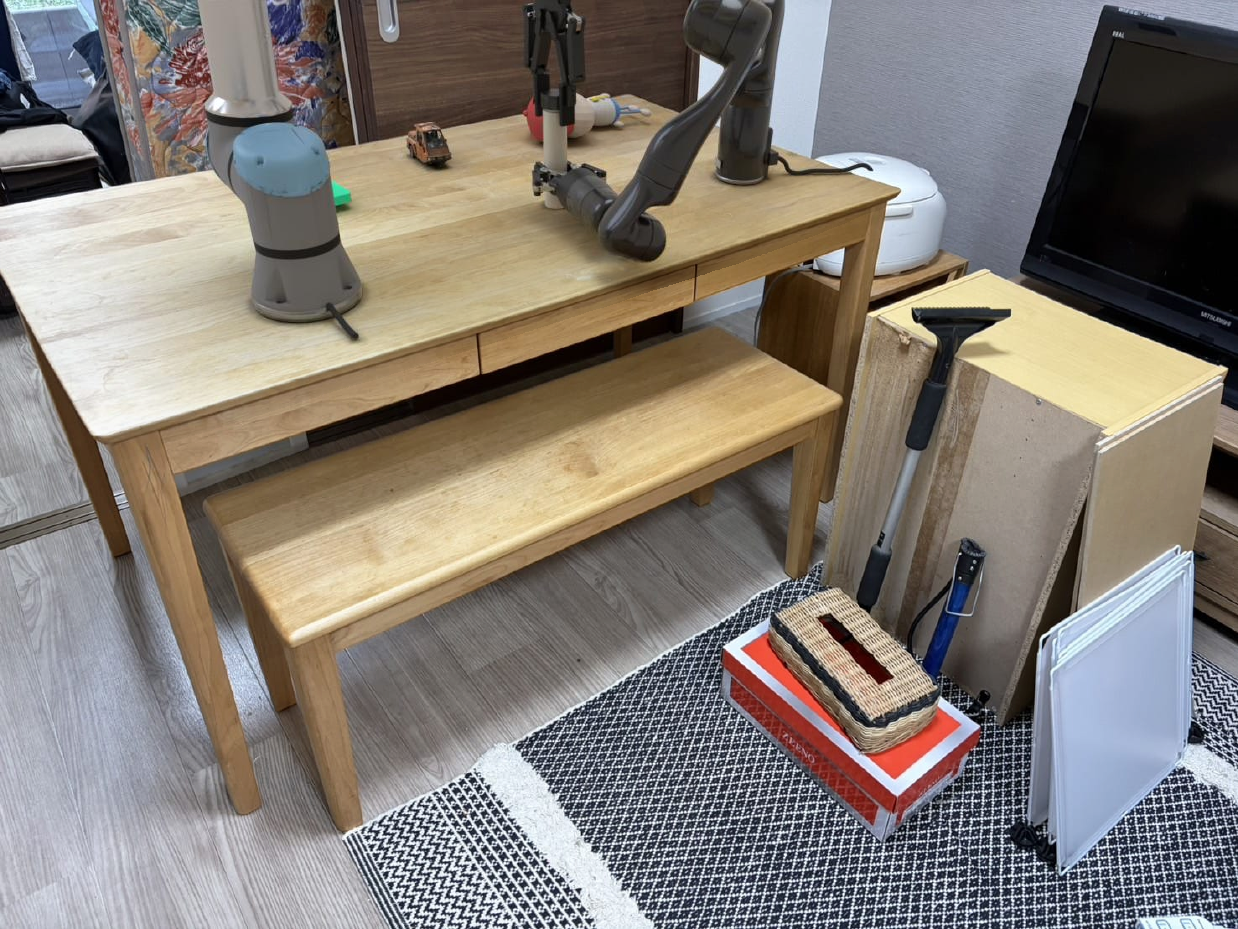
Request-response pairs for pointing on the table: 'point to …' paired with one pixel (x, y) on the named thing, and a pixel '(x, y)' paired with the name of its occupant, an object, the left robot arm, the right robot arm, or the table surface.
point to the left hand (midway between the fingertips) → (554, 119)
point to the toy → (584, 115)
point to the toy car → (428, 144)
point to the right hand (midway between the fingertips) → (549, 165)
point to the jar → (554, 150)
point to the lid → (550, 99)
